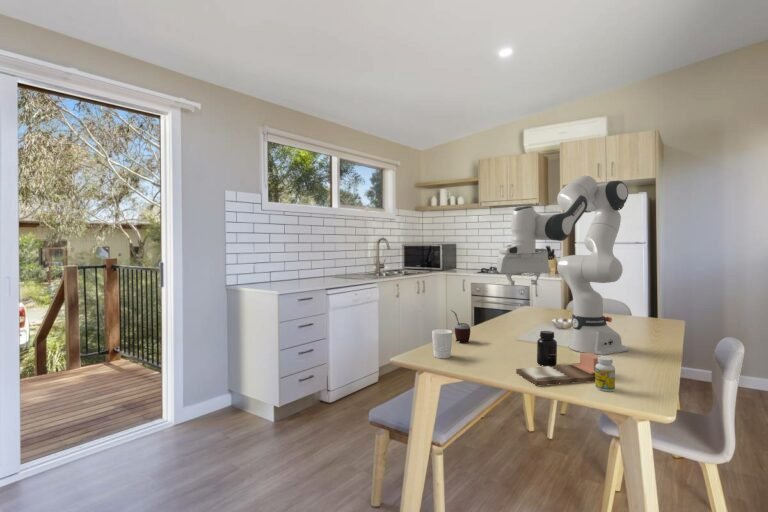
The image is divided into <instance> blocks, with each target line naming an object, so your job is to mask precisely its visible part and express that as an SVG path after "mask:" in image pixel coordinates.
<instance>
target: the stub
mask: <svg viewBox="0 0 768 512" xmlns="http://www.w3.org/2000/svg"><path fill="white" fill-rule="evenodd" d="M598 357H602V355H599V354H595V353H591V352H588V353H586V352H580V354H579V362H575V363H571V365H573V366H575V367H577V368H579V369H581V370H583V371H585V372H588V373H590V374H595V366H596V364H598V363H599V362H598Z"/></svg>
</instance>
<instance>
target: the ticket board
mask: <svg viewBox="0 0 768 512" xmlns="http://www.w3.org/2000/svg"><path fill="white" fill-rule="evenodd" d="M515 371H516V372H515V373H516V374H517V375H518V374H519V375H518V376H520V377H521V376H522V378H523V379H525V380H526V381H527V382H529V383H531V384H532V383H533V384H532V385H534V384H535V385H534V386H536V387H538V386H537V385H544V386H548V385H547V384H555V385H560V384H559V383H567V384H573V383H572V382H579V383H587V381H590V382H595V374H590V373H588V372H585V371H583V370H581V369H579V368H577V367H575V366H573V365H572V364H562V365H561V364H560V365H555V366H535V367H534V366H533V367H521V368H516V369H515Z"/></svg>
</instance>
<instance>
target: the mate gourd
mask: <svg viewBox="0 0 768 512" xmlns="http://www.w3.org/2000/svg"><path fill="white" fill-rule="evenodd" d="M450 311H451V312H452V313H453V314H454V316H455V319H456V321H457V323H456V324H455V326H454V334H455V339H456V340H455V342H458V341H460V342H459V343H458V344H463V343H466V342H467V343H468V344H469V343H470V341H469V340H470V337H471V327H470V325H469V324H468V323H464V322H459V318H458V315H457V313H456V312H455V311H454V310H453V309H450ZM467 343H466V344H467Z"/></svg>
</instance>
